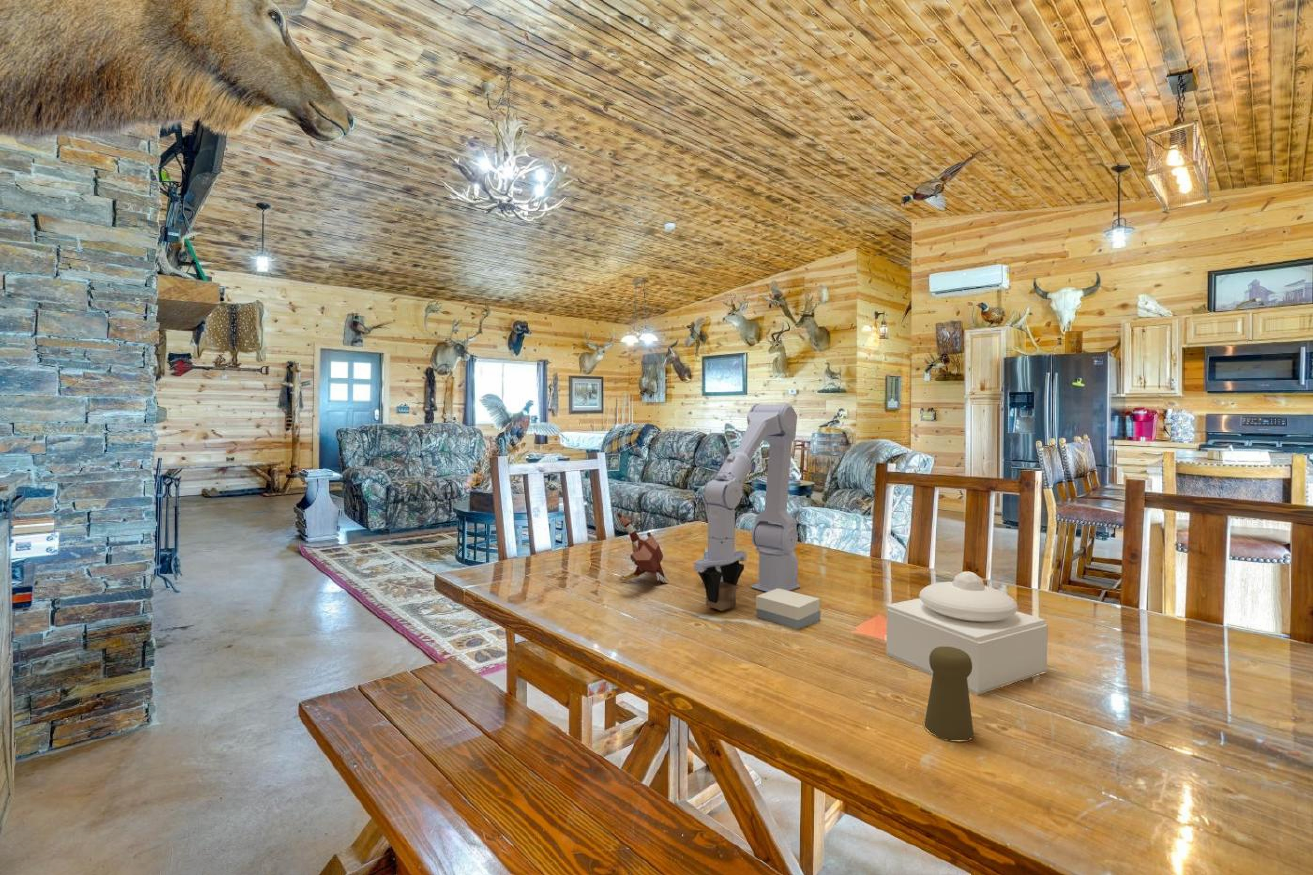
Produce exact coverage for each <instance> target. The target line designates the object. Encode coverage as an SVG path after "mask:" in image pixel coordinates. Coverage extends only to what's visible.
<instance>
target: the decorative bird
mask: <svg viewBox="0 0 1313 875" xmlns="http://www.w3.org/2000/svg"><path fill="white" fill-rule="evenodd" d="M616 516H618V519H619V522H620V524H621V526H623V528H625V530H626V531H627V533H628V535H629V538H630V541H631V548H632V553H630V557H629V558H630V560H631V561H632V563H634V565H635V566H636V568H635V571H633V572H632V573H630V574H628V575H626V576H625V575H621V577H619V578H618V580H619V581H621V582H623V583H627V584H628V582H627V581H629V580H632V579H635V578H639V577H640V576H642V575H643V574H645V573H649V574H650V575H653V576H655V577H656V579H657V582H659V583H662V584H665V585H668V584H669V580H668V579H667V578H666V577H665V573H664V570H663V566H662V564H661V562H662V561H663V559H664V553H663V552H662V549H661V547H660V545H659V543H658V541H657V540H656V539H655V537H654V536H653V535H652V534H651V532H649V531H648V532H647V533H646V535H647V539H645V540H644V539H641V538H640V537H639V534H638V533H637V531H636V529H635V528H634V526H633V525H632V524H631V522H630V520H629V519H628V517H626V516H624V515H623V514H621V513H620V512H619V511H618V513H617V514H616Z"/></svg>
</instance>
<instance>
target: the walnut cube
mask: <svg viewBox="0 0 1313 875" xmlns="http://www.w3.org/2000/svg"><path fill="white" fill-rule="evenodd" d="M736 591H737V588H736V585H733V584H729V583H725V582H722V581H720V584H719V595H718V601H717V603H713V602H710V601H708V597H707V593H706V592H705V606H706V607H710V608H712V609H715V610H718V611H721V612H722V611H725V610H729V609H731V608H732V609H733V608H734V607H736V606H737V602H736V601H737V600H736V599H737V596H736V594H737V592H736Z"/></svg>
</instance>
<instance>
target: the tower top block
mask: <svg viewBox="0 0 1313 875" xmlns="http://www.w3.org/2000/svg"><path fill="white" fill-rule="evenodd" d="M820 601H821V598H819V597H816V596H815V597H814V596H810V595H806V594H803V593H798V592H794V591H792V590H790V591H787V590H783V589H779V588H777V589H774V590H772V591H769V592H766V591H765V592H764V593H761V594H758V595H756V596H755V609H757V608H758V609H761V610H764V611H768V612H771V613H775V614H778V615H782V616H785V617H789V618H792V619H796V620H800V619H802V618H804V617H807V616H809V615H811V614H813V613H815V612H818V611H820V604H821V603H820Z"/></svg>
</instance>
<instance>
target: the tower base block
mask: <svg viewBox="0 0 1313 875" xmlns="http://www.w3.org/2000/svg"><path fill="white" fill-rule="evenodd" d="M756 618H759V619H762V620H765V621H768V622H772V623H774V624H778V625H781V626H783V627H788V628H791V629H793V630H796V631H797V630H800V629H803V628H805V627H807V626H810V625H812V624H815V623H818V622H819V621H821V610H819V611H818V612H815V613H813V614H811V615H809V616H807V617H804V618H802V619H800V620H796V619H792V618H789V617H785V616H782V615H778V614H775V613H771V612H768V611H764V610H761V609H758V608H756Z"/></svg>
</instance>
